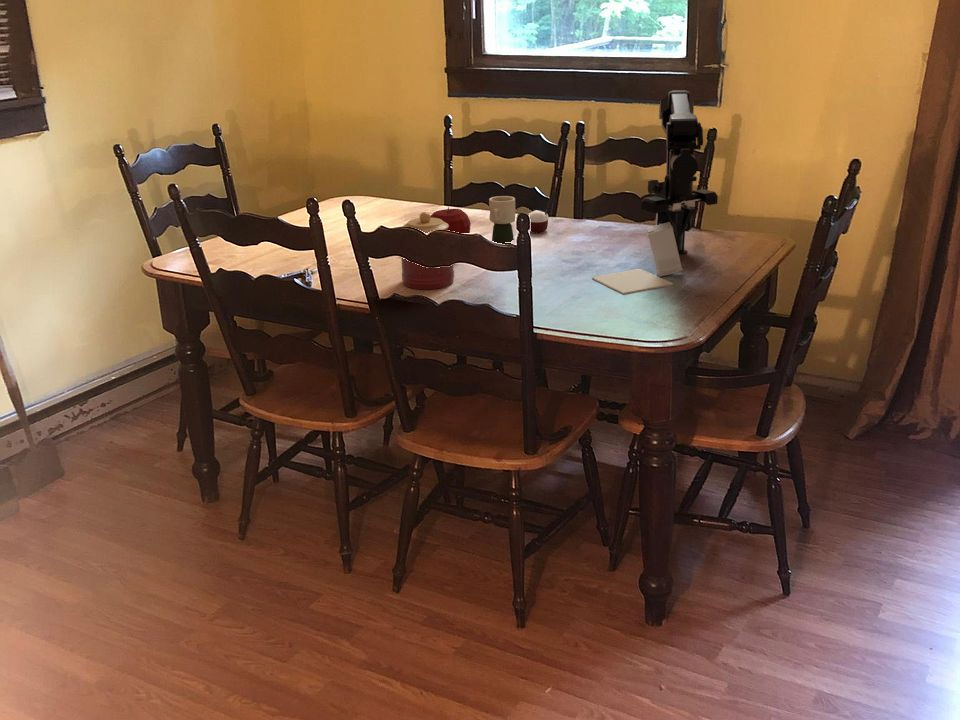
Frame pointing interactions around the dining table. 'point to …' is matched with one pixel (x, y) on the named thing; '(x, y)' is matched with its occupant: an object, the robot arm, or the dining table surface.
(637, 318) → the dining table surface
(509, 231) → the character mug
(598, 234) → the dining table surface
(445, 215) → the apple
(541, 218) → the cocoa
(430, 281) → the canister
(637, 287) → the mat
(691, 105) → the robot arm
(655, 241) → the skincare box
